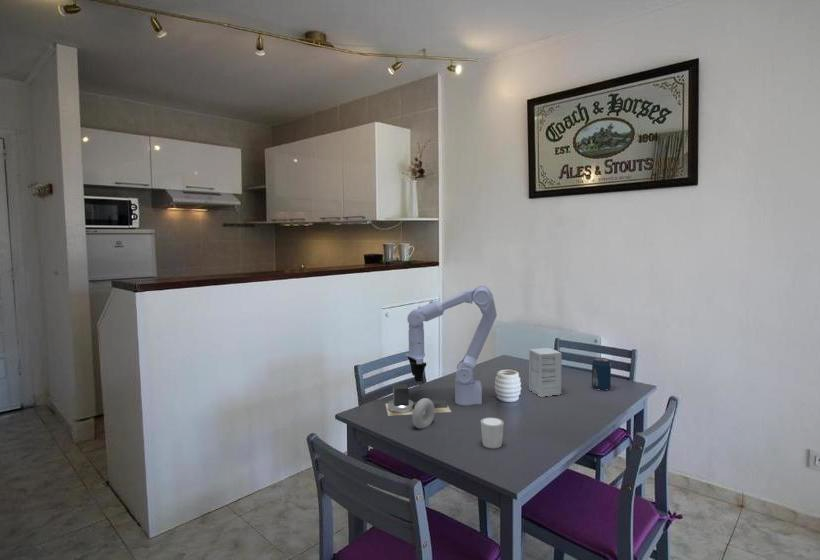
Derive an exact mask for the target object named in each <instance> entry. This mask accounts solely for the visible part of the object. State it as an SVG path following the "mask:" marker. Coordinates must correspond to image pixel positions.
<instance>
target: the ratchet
mask: <svg viewBox="0 0 820 560" xmlns="http://www.w3.org/2000/svg"><path fill="white" fill-rule="evenodd" d="M431 401H432V402H433V404H434V407H435V408H447V407H449V405H448V402H447V400H446V399H440V400H431ZM417 402H418V401H413V400H411V399H409V405H403V406H394V402H393V399H391V400H388V402H387V403H388V410H389V411H390V412H393V413H407V412H410V411H412V410H413V408H414V407H415V405H416V404H417ZM447 405H448V406H447Z"/></svg>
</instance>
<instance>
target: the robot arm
mask: <svg viewBox="0 0 820 560" xmlns="http://www.w3.org/2000/svg"><path fill="white" fill-rule="evenodd" d="M473 302H474V304H475V305H476V306H477V307H478V308H479V311H480V313H481V314H482V316H481V318H480V320H479V323H478V324H477V327H476V329H475V332H474V334H473V337H472V339H471V342H470V343H469V345H468V348H467V350H466V353H465V354H464V356H463V358H462V359H461V360H460V361H459V362H458V364H457V366H456V371H455V379H454V402H455V404H456V405H460V406H472V405H473V406H474V405H483V404H482V403H483V400H482V399H483V397H482V395H483V393H482V392H483V390H482V389H483V387H482V383H481V381H480V380H479V379H478V380H476V379H475V378H474V371H475V368H476V365H477V362H478V359H479V356H480V355H481V352H482V351H483V348H484V345H485V344H486V341H487V339H488V337H489V334H490V332H491V329H492V328H493V326H494V323H495V321H496V319H497V315H498V314H497V309H496V304H495V299H494V295H493V292H491V290H490V289H489V287H487V286H486V285H479V286H476V287H473V288H469V289H467V290H463V291H462V292H459V293H458V294H456V295H454V296H452V297H449V298H447V299H444V300H443V301H440V300H429V302H428V303H427V304H425V305H423V306H421V305H419V306H418V307H417V308H415V309H412V310H411V311H410V312H409V313H408V314H407V320H406V321H407V324H408V353H405V357H407V359H408V362H409V364H410V371H411V374H412V376H414V380H415V382H416V383H417V382H422V380H423V375H424V371H425V369H426V366H427V362H423V359H424V358H425V356H426V354H425V328H424V327H425V326H424V322H429V321H432V320H433V319H437V318H438V317H441V316H443V315H444V311H446V310H447V309H451V308H453V307H455V306H459V305H461V304H464V303H466V304H473Z"/></svg>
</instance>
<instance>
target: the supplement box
mask: <svg viewBox="0 0 820 560" xmlns="http://www.w3.org/2000/svg"><path fill="white" fill-rule="evenodd" d="M562 354H563V353H562V352H560V351H558V350H555V349H554V348H550V347H542V348H541V347H540V348H529V349H528V358H529V359H528V391H529V390H530V392H531V391H532V392H531V393H533V394H534V393H535V394H534V395H536V394H537V395H538V397H539V396H540V397H539V398H546V397H545V396H548V397H553V396H552V395H558V396H560V395H559V394H561V395H562V360H563V359H562ZM537 395H536V396H537Z"/></svg>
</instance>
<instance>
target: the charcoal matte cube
mask: <svg viewBox="0 0 820 560" xmlns="http://www.w3.org/2000/svg"><path fill="white" fill-rule="evenodd" d="M409 392H410V391H409V386H408V384H407V383H399V384H398V383H397V384H392V400H393V402H394V406H403V405H409V400H410V398H409V397H410V396H409Z"/></svg>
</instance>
